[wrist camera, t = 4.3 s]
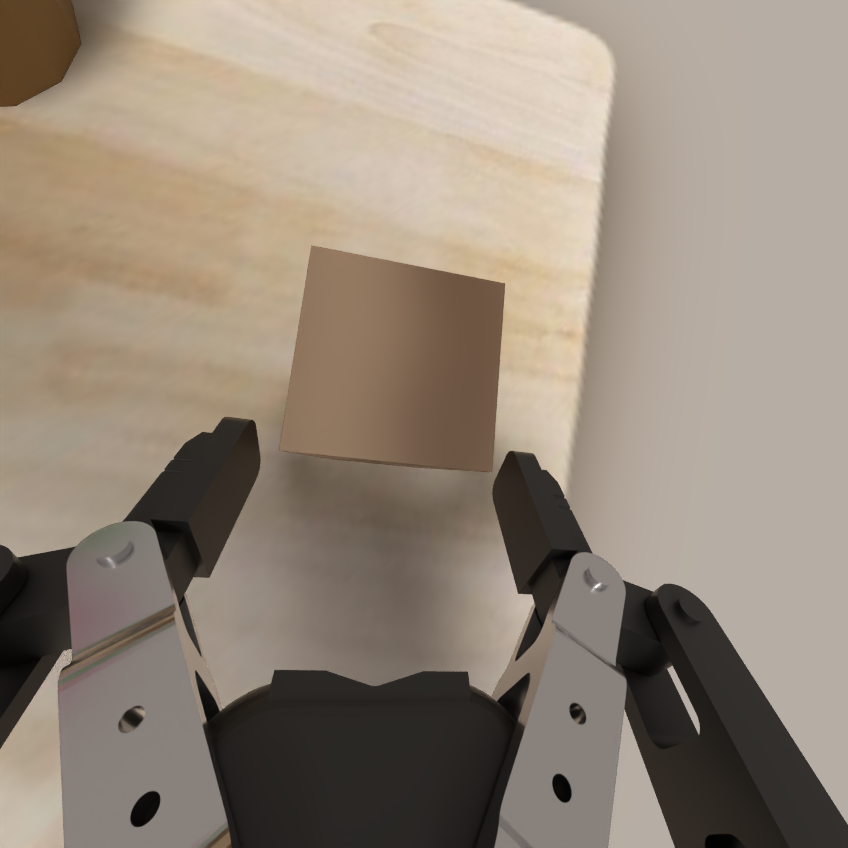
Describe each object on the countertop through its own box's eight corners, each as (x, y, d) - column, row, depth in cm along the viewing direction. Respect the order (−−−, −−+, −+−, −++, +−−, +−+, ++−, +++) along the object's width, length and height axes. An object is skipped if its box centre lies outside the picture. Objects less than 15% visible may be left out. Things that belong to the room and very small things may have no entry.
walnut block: (330, 458, 18) (278, 450, 7) (342, 370, 19) (311, 245, 8) (420, 467, 19) (492, 471, 8) (428, 382, 20) (504, 283, 9)
